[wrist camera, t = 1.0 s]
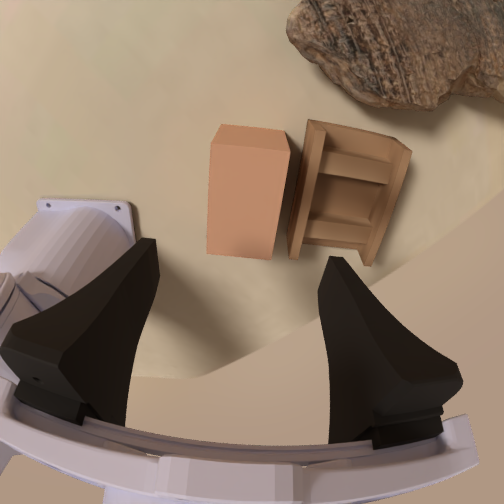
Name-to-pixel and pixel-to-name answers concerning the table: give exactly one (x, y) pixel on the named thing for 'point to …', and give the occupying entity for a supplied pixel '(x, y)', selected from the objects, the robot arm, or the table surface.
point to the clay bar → (245, 190)
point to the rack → (345, 189)
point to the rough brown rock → (404, 48)
